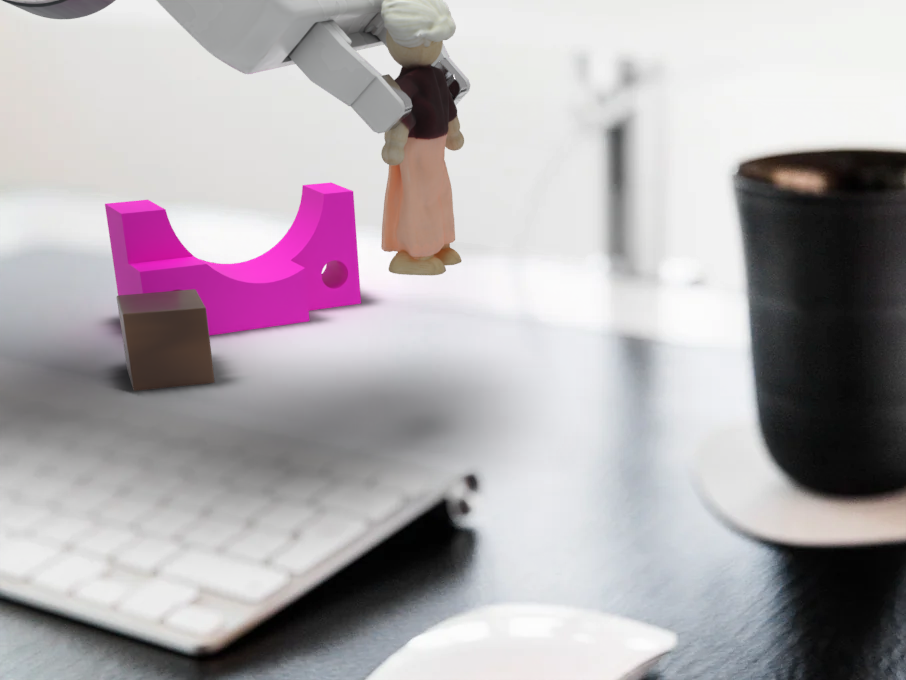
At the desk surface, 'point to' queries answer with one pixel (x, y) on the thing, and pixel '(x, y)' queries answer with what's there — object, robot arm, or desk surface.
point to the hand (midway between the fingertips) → (429, 110)
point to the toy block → (245, 263)
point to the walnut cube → (165, 339)
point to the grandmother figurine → (420, 142)
